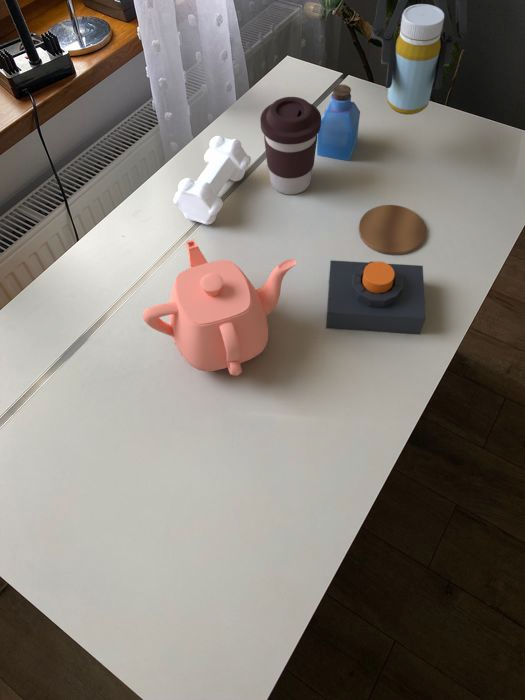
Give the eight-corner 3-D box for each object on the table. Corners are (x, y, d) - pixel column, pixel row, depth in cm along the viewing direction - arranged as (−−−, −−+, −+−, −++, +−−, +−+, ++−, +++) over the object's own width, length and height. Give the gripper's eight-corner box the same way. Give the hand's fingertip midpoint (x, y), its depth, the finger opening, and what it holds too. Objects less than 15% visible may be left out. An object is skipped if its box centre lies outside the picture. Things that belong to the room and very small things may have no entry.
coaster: (423, 209, 104) (424, 206, 103) (426, 257, 98) (427, 254, 97) (359, 206, 105) (359, 203, 104) (358, 253, 99) (358, 250, 98)
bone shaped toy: (218, 232, 103) (213, 196, 96) (174, 219, 105) (166, 182, 98) (254, 176, 110) (252, 139, 103) (212, 165, 112) (207, 128, 105)
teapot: (197, 283, 97) (185, 223, 85) (296, 314, 93) (297, 254, 81) (150, 363, 89) (130, 308, 77) (255, 400, 85) (251, 348, 73)
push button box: (417, 283, 95) (425, 257, 90) (420, 335, 90) (427, 310, 85) (328, 277, 96) (331, 252, 91) (325, 328, 91) (328, 304, 86)
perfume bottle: (316, 155, 113) (319, 97, 103) (325, 134, 116) (329, 76, 106) (349, 161, 111) (355, 103, 101) (356, 140, 115) (363, 82, 105)
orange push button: (392, 271, 89) (394, 262, 88) (392, 294, 87) (394, 285, 85) (362, 269, 90) (364, 260, 88) (362, 292, 87) (363, 283, 86)
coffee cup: (251, 180, 109) (247, 107, 97) (292, 156, 113) (293, 82, 100) (288, 209, 105) (288, 136, 93) (329, 183, 108) (334, 109, 96)
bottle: (382, 112, 102) (395, 23, 89) (391, 88, 105) (405, -1, 93) (423, 119, 100) (442, 30, 88) (431, 95, 104) (451, 5, 91)
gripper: (490, -63, 94) (471, 94, 99) (361, -64, 96) (349, 89, 101) (503, -87, 87) (483, 83, 92) (364, -88, 89) (351, 79, 93)
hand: (413, 86), depth 96 cm, fingers closed on bottle, 7 cm apart
